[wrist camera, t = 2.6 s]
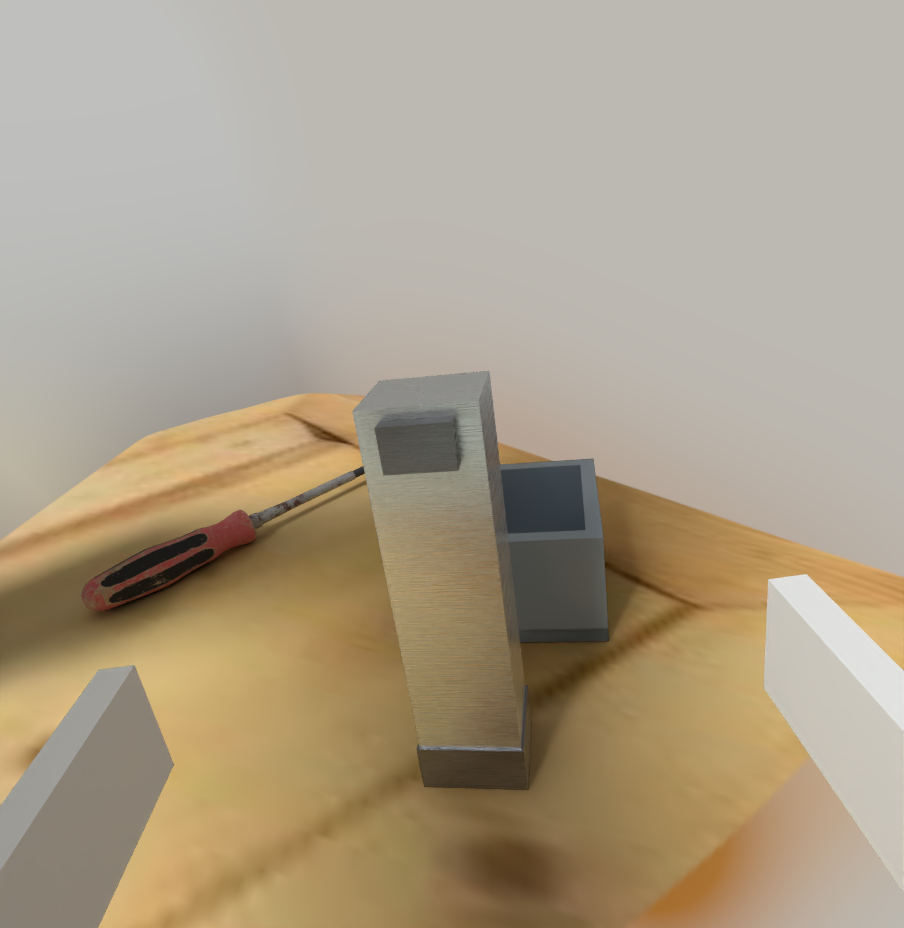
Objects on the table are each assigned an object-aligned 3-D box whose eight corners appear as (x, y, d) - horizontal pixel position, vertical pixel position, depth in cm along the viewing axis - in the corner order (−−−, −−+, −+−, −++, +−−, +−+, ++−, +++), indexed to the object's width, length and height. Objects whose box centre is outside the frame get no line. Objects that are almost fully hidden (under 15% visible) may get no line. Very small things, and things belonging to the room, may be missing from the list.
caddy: (424, 643, 35) (406, 545, 33) (450, 550, 44) (438, 468, 41) (608, 641, 33) (603, 537, 31) (598, 545, 42) (593, 458, 40)
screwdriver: (372, 474, 59) (366, 443, 57) (394, 481, 57) (388, 448, 55) (83, 613, 43) (67, 574, 42) (99, 629, 41) (82, 589, 40)
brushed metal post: (422, 797, 26) (343, 418, 20) (439, 720, 30) (377, 380, 24) (527, 800, 25) (479, 406, 19) (531, 720, 29) (492, 369, 23)
